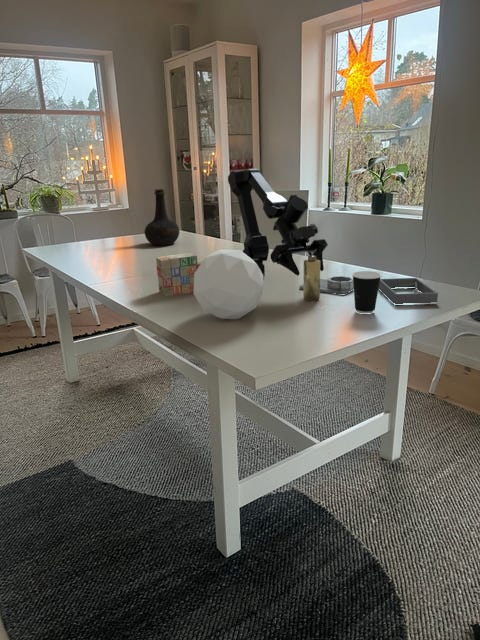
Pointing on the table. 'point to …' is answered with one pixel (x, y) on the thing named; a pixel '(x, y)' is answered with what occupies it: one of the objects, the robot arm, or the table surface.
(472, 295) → the table surface
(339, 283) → the grey piece
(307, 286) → the gold capped bottle
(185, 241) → the table surface
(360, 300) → the dixie cup
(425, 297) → the tray
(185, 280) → the stack of blocks
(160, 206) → the glass bottle
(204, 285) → the ball
